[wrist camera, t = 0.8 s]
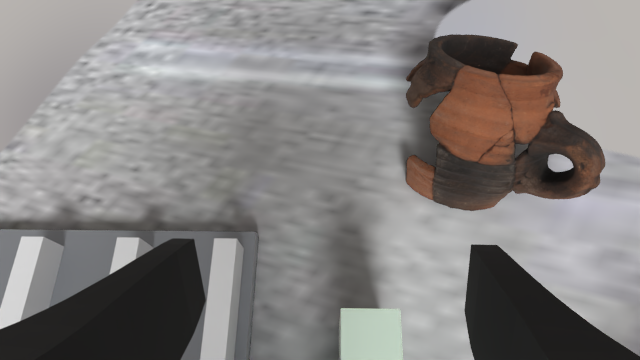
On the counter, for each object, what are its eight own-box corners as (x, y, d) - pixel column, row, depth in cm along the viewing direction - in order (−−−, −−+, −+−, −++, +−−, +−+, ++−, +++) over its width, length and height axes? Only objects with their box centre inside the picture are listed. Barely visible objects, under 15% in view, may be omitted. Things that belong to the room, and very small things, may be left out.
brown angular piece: (358, 170, 29) (381, 45, 24) (433, 125, 35) (464, 17, 30) (541, 275, 23) (621, 137, 18) (594, 199, 29) (665, 79, 24)
